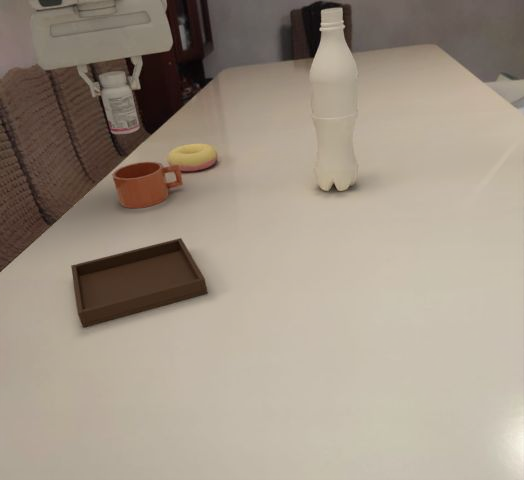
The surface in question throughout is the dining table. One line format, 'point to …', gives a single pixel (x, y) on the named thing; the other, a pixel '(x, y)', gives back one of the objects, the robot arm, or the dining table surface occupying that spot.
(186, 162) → the donut
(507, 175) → the dining table surface
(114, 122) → the pill bottle
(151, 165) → the mug
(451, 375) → the dining table surface
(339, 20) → the water bottle
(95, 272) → the tray
